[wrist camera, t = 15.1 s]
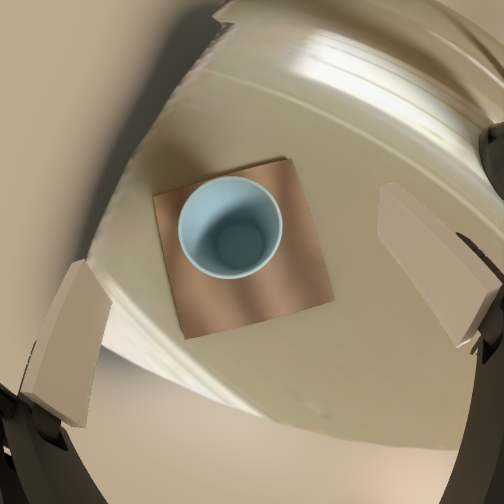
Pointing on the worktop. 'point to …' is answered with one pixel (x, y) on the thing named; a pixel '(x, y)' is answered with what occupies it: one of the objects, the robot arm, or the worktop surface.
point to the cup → (230, 227)
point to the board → (258, 283)
